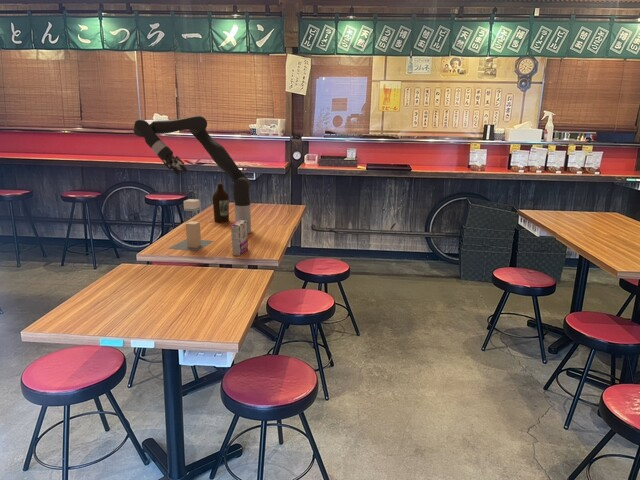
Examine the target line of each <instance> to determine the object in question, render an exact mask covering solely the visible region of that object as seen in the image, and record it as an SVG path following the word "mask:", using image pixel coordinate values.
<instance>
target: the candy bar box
mask: <svg viewBox="0 0 640 480" xmlns="http://www.w3.org/2000/svg"><path fill="white" fill-rule="evenodd" d="M230 229H231V230H230V231H231V248H232V256H234V255H242V254H243V253H244V252H245V253H246V252H247V251H249V243H248V241H249V239H248V234H247V221H245V220H238V221H237V222H235V221H234V223H232V224H231V225H230ZM245 253H244V254H245ZM244 254H243V255H244ZM243 255H242V256H243Z"/></svg>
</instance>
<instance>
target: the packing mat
mask: <svg viewBox="0 0 640 480" xmlns="http://www.w3.org/2000/svg"><path fill="white" fill-rule="evenodd" d="M213 242H215V240H205V239H201V246H199V247H197V248H192V247H187V238H185V239H184V240H182V241H180V242H178V243H177V244H173V245H172V246H171V247H168V248H167V249H169V250H179V251H180V250H181V251H188V252H200V251H201V250H202V249H204V248H205V247H207V246H208V245H209V246H210V245H211V244H212V243H213Z"/></svg>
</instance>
